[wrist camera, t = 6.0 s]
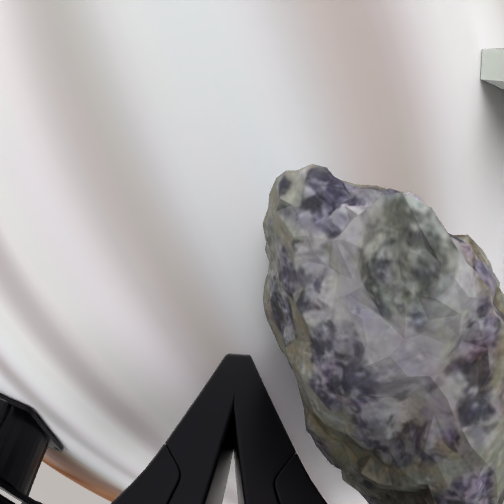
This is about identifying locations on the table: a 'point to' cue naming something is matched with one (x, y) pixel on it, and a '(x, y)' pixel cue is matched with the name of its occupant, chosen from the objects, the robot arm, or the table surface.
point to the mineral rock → (388, 339)
